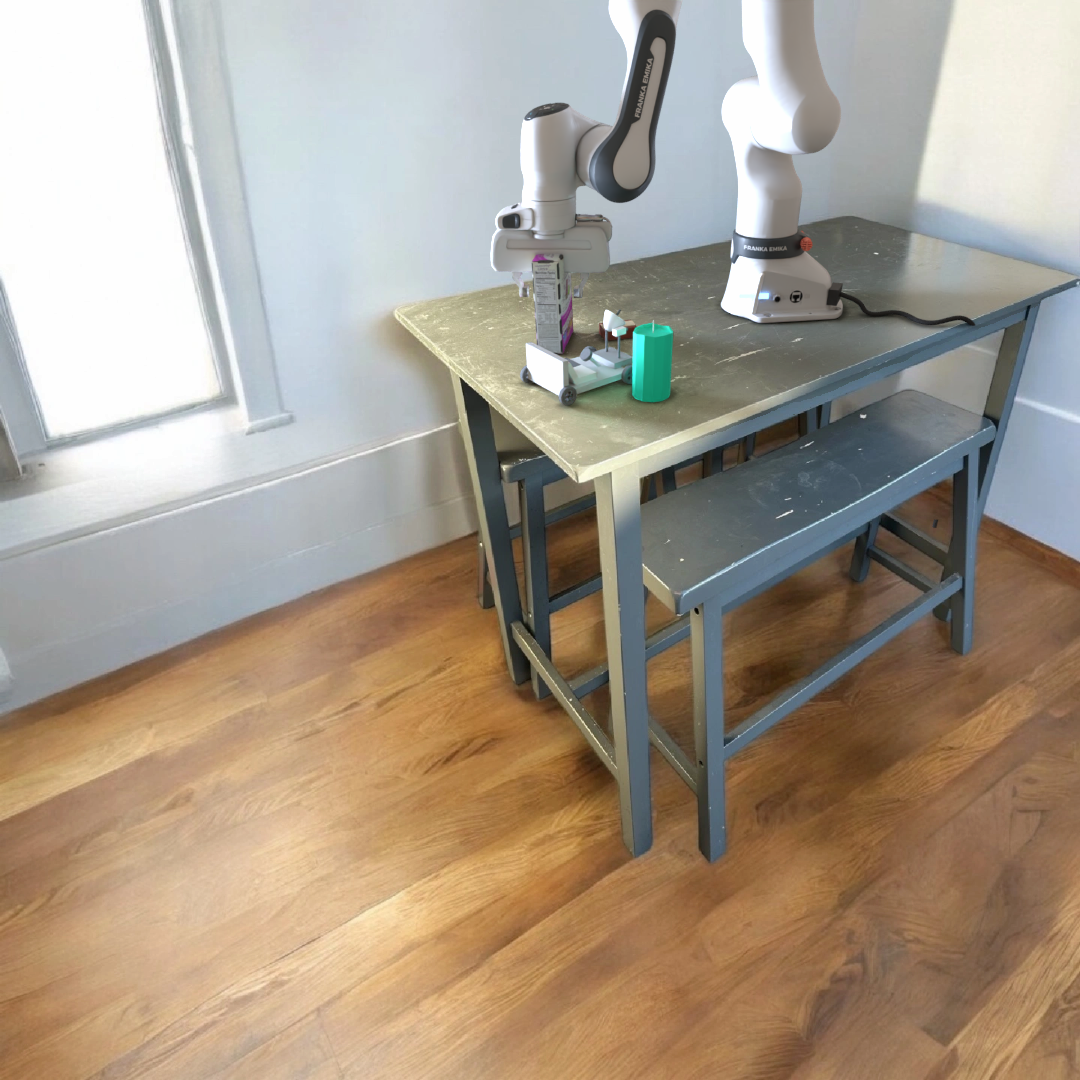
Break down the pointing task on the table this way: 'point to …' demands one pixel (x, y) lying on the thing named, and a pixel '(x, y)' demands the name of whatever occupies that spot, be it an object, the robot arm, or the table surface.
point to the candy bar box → (552, 302)
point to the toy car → (579, 365)
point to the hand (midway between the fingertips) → (551, 296)
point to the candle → (652, 362)
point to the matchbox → (629, 334)
